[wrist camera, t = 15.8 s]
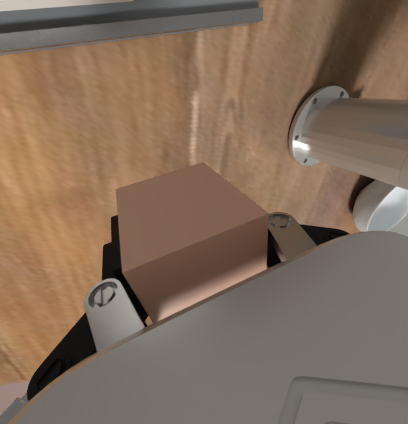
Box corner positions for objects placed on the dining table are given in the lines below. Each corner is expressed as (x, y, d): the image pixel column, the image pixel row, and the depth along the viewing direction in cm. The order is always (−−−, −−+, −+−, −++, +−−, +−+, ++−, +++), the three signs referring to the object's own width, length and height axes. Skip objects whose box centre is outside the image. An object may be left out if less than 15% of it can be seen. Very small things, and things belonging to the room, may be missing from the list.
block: (202, 162, 12) (268, 213, 7) (213, 227, 14) (265, 295, 10) (115, 189, 10) (122, 272, 6) (146, 254, 13) (167, 345, 9)
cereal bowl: (363, 164, 45) (399, 174, 40) (401, 165, 52) (436, 174, 46) (331, 226, 53) (356, 242, 48) (367, 220, 60) (393, 233, 54)
